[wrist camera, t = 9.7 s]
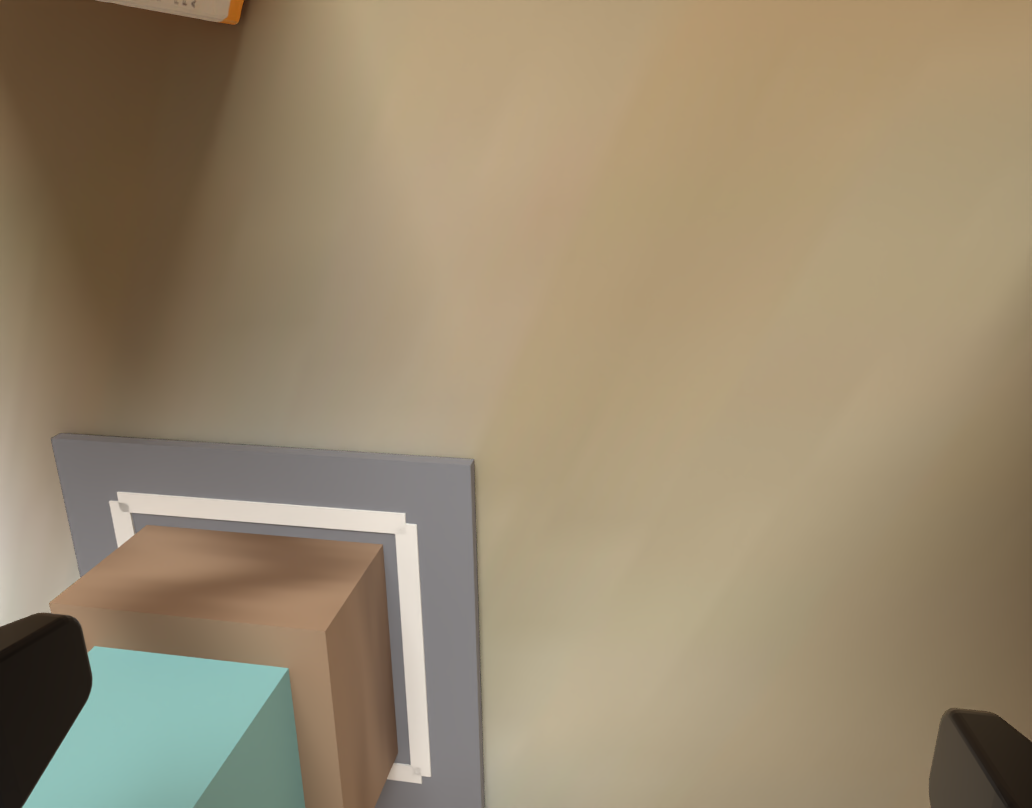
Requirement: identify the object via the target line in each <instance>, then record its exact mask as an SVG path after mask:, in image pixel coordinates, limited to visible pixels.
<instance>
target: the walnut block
mask: <svg viewBox="0 0 1032 808" xmlns="http://www.w3.org/2000/svg"><path fill="white" fill-rule="evenodd" d="M49 605H50V609H51V613H53V614H62V615H70V616H72V617H74V618H76V619H77V620H78V621H79V623H80V624H81V627H82V630H83V634H84V639H85V643H86V648H87V653H88V652H89V651H90V650H91V649H92V648H93V647H94V646H98V647H107V648H115V649H124V650H133V651H142V652H151V653H159V654H168V655H177V656H186V657H195V658H203V659H212V660H221V661H230V662H239V663H248V664H256V665H265V666H274V667H283V668H289V676H290V684H291V693H292V701H293V709H294V718H295V726H296V734H297V743H298V751H299V759H300V767H301V776H302V784H303V792H304V801H305V808H375V805H376V803H377V801H378V798H379V796H380V794H381V791H382V789H383V787H384V784H385V782H386V780H387V777H388V775H389V773H390V770H391V768H392V766H393V763H394V761H395V759H396V756H397V754H398V743H397V729H396V716H395V702H394V688H393V675H392V661H391V648H390V634H389V620H388V607H387V593H386V579H385V566H384V552H383V544H372V543H360V542H348V541H336V540H324V539H312V538H300V537H288V536H276V535H263V534H251V533H239V532H227V531H215V530H203V529H191V528H179V527H167V526H154V525H146V526H145V527H144V528H142V529H141V530H140V531H139V532H137V533H136V534H135V535H134V536H132V537H131V538H130V539H129V540H127V541H126V542H125V543H124V544H122V545H121V546H120V547H119V548H117V549H116V550H115V551H114V552H112V553H111V554H110V555H109V556H107V557H106V558H105V559H104V560H102V561H101V562H100V563H99V564H97V565H96V566H95V567H94V568H92V569H91V570H90V571H89V572H87V573H86V574H85V575H84V576H82V577H81V578H80V579H79V580H77V581H76V582H75V583H74V584H72V585H71V586H70V587H69V588H67V589H66V590H65V591H64V592H62V593H61V594H60V595H59V596H57V597H56V598H55V599H54V600H52V601H51V602H50V603H49Z"/></svg>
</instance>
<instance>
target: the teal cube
mask: <svg viewBox="0 0 1032 808" xmlns="http://www.w3.org/2000/svg"><path fill="white" fill-rule="evenodd" d="M88 657H89V662H90V666H91V671H92V677H93V681H92V689H91V693H90V695H89V698H88V700H87V702H86V704H85V705H84V707H83V709H82V710H81V712H80V714H79V715H78V717H77V719H76V720H75V722H74V724H73V725H72V727H71V728H70V730H69V732H68V733H67V735H66V737H65V738H64V740H63V742H62V743H61V745H60V747H59V748H58V750H57V751H56V753H55V755H54V756H53V758H52V760H51V761H50V763H49V765H48V766H47V768H46V770H45V771H44V773H43V774H42V776H41V778H40V779H39V781H38V783H37V784H36V786H35V788H34V789H33V791H32V793H31V794H30V796H29V797H28V799H27V801H26V802H25V804H24V806H23V807H22V808H305V801H304V792H303V784H302V776H301V767H300V759H299V751H298V743H297V734H296V726H295V718H294V709H293V701H292V693H291V684H290V676H289V668H283V667H274V666H265V665H256V664H248V663H239V662H230V661H221V660H212V659H203V658H195V657H186V656H177V655H168V654H159V653H151V652H142V651H133V650H124V649H115V648H107V647H98V646H94V647H93V648H92V649H91V650H90V651H89V652H88Z"/></svg>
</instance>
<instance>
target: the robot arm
mask: <svg viewBox="0 0 1032 808" xmlns="http://www.w3.org/2000/svg"><path fill="white" fill-rule="evenodd" d="M92 681H93V677H92V671H91V666H90V662H89V657H88V653H87V648H86V643H85V639H84V634H83V630H82V627H81V624H80V623H79V621H78V620H77V619H76V618H74V617H72V616H70V615H62V614H53V613H37V614H33V615H30V616H28V617H25V618H22V619H20V620H17V621H14V622H12V623H9V624H7V625H4V626H1V627H0V808H22V807H23V806H24V804H25V802H26V801H27V799H28V797H29V796H30V794H31V793H32V791H33V789H34V788H35V786H36V784H37V783H38V781H39V779H40V778H41V776H42V774H43V773H44V771H45V770H46V768H47V766H48V765H49V763H50V761H51V760H52V758H53V756H54V755H55V753H56V751H57V750H58V748H59V747H60V745H61V743H62V742H63V740H64V738H65V737H66V735H67V733H68V732H69V730H70V728H71V727H72V725H73V724H74V722H75V720H76V719H77V717H78V715H79V714H80V712H81V710H82V709H83V707H84V705H85V704H86V702H87V700H88V698H89V695H90V693H91V689H92ZM929 797H930V805H931V808H1032V742H1031V741H1030V740H1029V739H1027V738H1026V737H1025V736H1024V735H1022V734H1021V733H1020V732H1019V731H1017V730H1016V729H1015V728H1013V727H1012V726H1011V725H1010V724H1008V723H1007V722H1006V721H1005V720H1003V719H1002V718H1001V717H999V716H998V715H996V714H994V713H991V712H986V711H976V710H967V709H957V708H951V709H949V710H947V711H946V712H945V713H944V715H943V717H942V718H941V722H940V726H939V731H938V736H937V741H936V746H935V751H934V757H933V762H932V767H931V772H930V778H929Z"/></svg>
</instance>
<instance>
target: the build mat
mask: <svg viewBox="0 0 1032 808" xmlns="http://www.w3.org/2000/svg"><path fill="white" fill-rule="evenodd" d="M51 442H52V447H53V451H54V456H55V461H56V465H57V470H58V475H59V479H60V484H61V489H62V493H63V498H64V503H65V507H66V512H67V517H68V521H69V526H70V530H71V535H72V540H73V544H74V549H75V554H76V558H77V563H78V568H79V572H80V577H82V576H84V575H85V574H86V573H87V572H89V571H90V570H91V569H92V568H94V567H95V566H96V565H97V564H99V563H100V562H101V561H102V560H104V559H105V558H106V557H107V556H109V555H110V554H111V553H112V552H114V551H115V550H116V549H117V548H119V547H120V546H121V545H122V544H124V543H125V542H126V541H127V540H129V539H130V538H131V537H132V536H134V535H135V534H136V533H137V532H139V531H140V530H141V529H142V528H144V527H145V526H146V525H154V526H167V527H179V528H191V529H203V530H215V531H227V532H239V533H251V534H263V535H276V536H288V537H300V538H312V539H324V540H336V541H348V542H360V543H372V544H383V552H384V566H385V579H386V593H387V607H388V620H389V634H390V648H391V661H392V675H393V688H394V702H395V716H396V729H397V743H398V754H397V756H396V759H395V761H394V763H393V766H392V768H391V770H390V773H389V775H388V777H387V780H386V782H385V784H384V787H383V789H382V791H381V794H380V796H379V798H378V801H377V803H376V805H375V808H485V804H484V772H483V739H482V707H481V674H480V641H479V609H478V576H477V544H476V511H475V478H474V459H463V458H447V457H431V456H415V455H400V454H384V453H368V452H352V451H336V450H320V449H304V448H289V447H273V446H257V445H241V444H225V443H209V442H193V441H178V440H162V439H146V438H130V437H114V436H98V435H82V434H67V433H60V434H58V435H56V436H54V437H52V438H51Z"/></svg>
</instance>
